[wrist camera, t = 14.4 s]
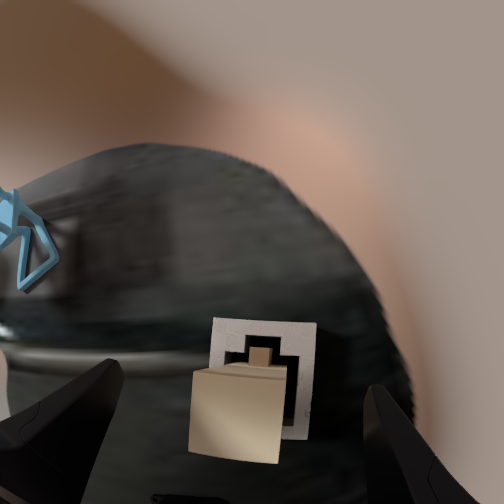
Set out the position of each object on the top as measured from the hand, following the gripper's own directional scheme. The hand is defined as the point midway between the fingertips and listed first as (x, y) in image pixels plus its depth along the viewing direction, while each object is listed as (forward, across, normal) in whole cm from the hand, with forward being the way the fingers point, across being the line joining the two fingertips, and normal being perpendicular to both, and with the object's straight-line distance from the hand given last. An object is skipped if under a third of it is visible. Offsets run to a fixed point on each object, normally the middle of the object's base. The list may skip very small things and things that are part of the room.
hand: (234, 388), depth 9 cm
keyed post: (+8, 0, +10) cm, 12 cm away
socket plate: (+8, 0, +10) cm, 12 cm away
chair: (+15, +28, +2) cm, 32 cm away
